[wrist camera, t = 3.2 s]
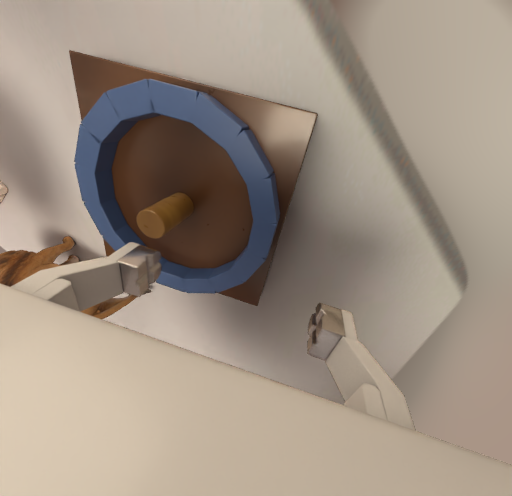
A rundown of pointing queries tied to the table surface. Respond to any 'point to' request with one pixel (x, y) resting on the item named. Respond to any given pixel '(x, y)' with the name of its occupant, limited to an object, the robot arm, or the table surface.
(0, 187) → the jewelry stand
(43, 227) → the table surface
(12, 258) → the lion figurine
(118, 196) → the platform
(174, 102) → the ring
